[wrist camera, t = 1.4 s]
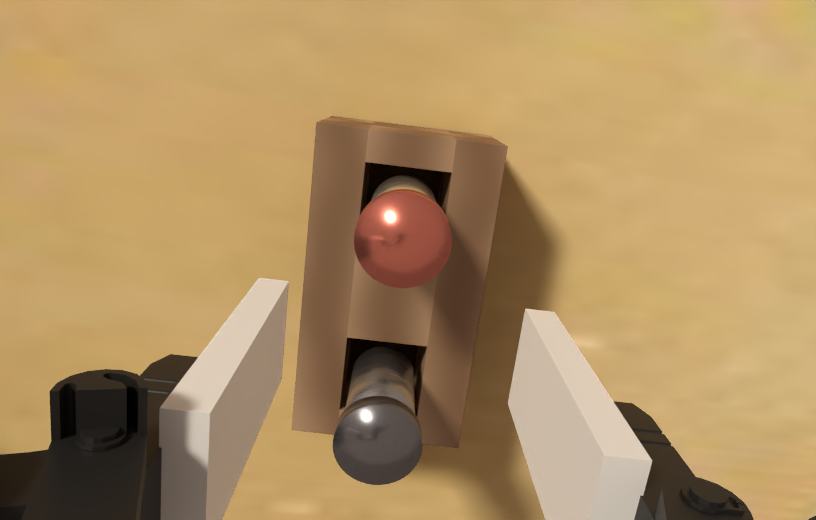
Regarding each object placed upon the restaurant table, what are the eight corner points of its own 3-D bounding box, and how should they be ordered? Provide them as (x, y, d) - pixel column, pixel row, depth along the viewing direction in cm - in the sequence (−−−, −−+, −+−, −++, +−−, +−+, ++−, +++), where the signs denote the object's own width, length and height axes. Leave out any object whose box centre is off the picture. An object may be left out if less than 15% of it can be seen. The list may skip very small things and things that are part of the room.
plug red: (361, 240, 34) (349, 282, 27) (369, 165, 33) (359, 187, 26) (436, 249, 34) (444, 293, 27) (446, 174, 33) (458, 199, 26)
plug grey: (344, 402, 37) (329, 480, 30) (351, 337, 36) (336, 401, 28) (414, 410, 37) (416, 488, 30) (423, 345, 36) (427, 411, 29)
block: (309, 376, 43) (291, 430, 37) (332, 116, 39) (316, 122, 32) (450, 392, 44) (458, 447, 37) (490, 136, 39) (507, 146, 32)
